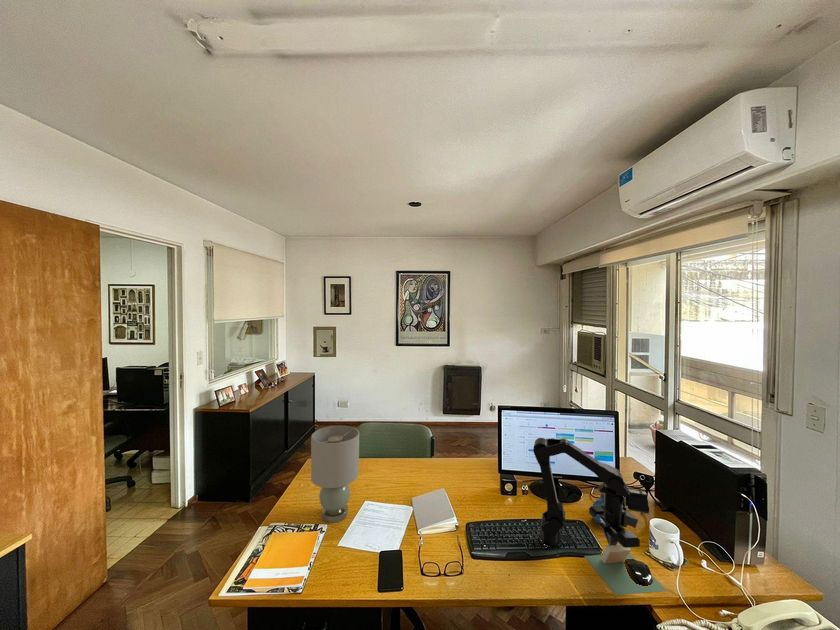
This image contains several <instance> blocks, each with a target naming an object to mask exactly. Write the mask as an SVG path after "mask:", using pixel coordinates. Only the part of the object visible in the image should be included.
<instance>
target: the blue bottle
mask: <svg viewBox="0 0 840 630" xmlns="http://www.w3.org/2000/svg"><path fill="white" fill-rule="evenodd" d="M603 504H604V493H602V492H600V495H599V499H596V500H595V501H594V502H593V504H592V506H601V505H603ZM600 518H601V517H600V516H599V515H598V514H596V517H592V519H593V520H594V521H595V522H597V524H599V523H601V520H600Z"/></svg>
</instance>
